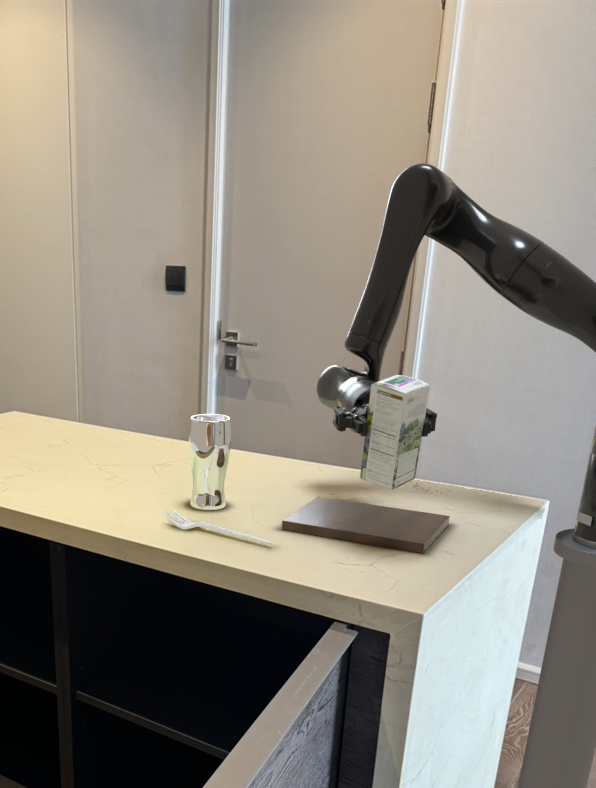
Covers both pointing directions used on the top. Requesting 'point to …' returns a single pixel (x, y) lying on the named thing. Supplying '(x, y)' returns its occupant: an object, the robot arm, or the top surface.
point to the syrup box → (394, 431)
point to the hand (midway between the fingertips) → (395, 429)
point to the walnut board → (367, 524)
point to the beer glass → (209, 459)
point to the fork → (211, 528)
